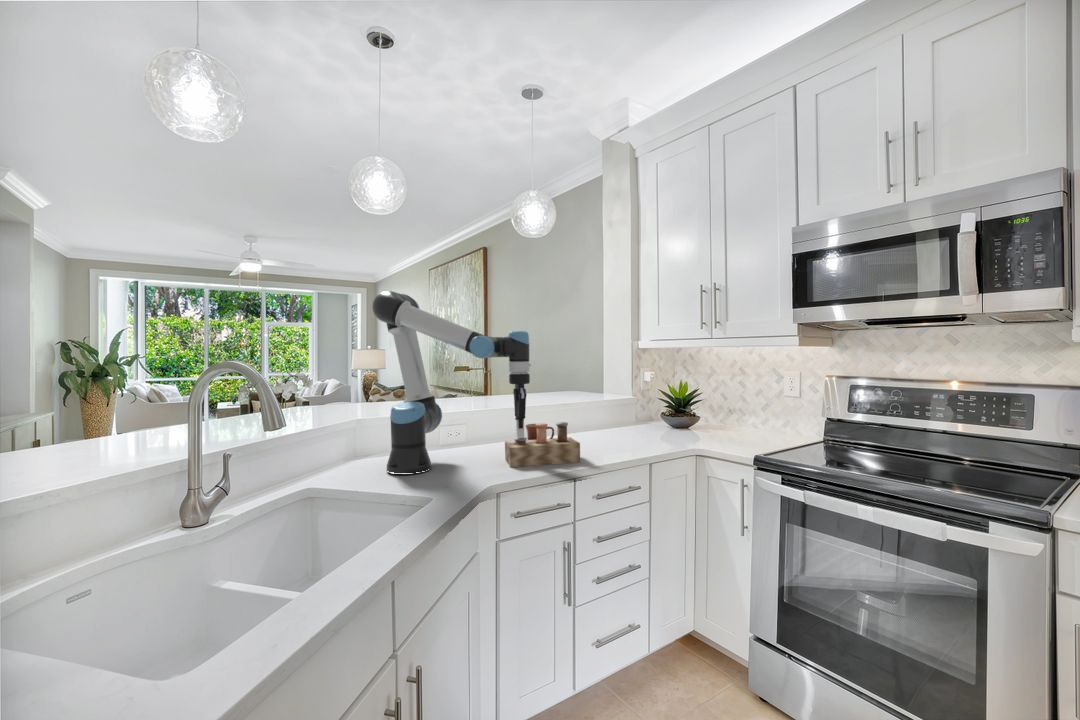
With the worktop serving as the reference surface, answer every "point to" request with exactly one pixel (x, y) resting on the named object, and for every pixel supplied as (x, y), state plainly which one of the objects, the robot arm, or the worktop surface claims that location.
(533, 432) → the mug
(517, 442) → the plug near
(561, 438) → the plug far
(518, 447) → the socket board
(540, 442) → the plug mid
